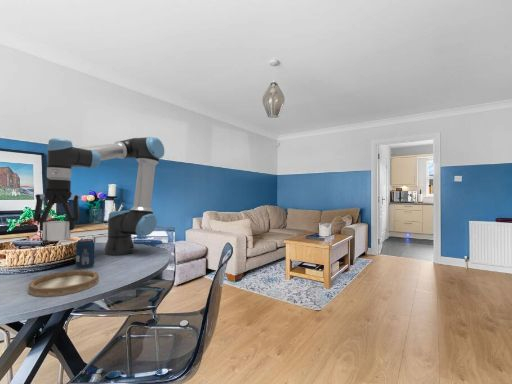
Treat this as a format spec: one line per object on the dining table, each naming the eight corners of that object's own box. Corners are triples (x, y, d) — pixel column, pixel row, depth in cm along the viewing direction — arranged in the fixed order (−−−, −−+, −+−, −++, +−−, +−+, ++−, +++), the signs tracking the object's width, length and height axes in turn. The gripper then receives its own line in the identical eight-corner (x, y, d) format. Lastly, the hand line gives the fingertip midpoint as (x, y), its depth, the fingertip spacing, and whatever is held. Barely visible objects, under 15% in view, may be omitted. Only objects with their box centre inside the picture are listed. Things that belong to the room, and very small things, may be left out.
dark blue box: (87, 263, 122) (88, 238, 122) (97, 265, 119) (98, 239, 119) (72, 267, 116) (72, 240, 116) (82, 269, 113) (82, 242, 113)
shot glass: (55, 241, 97) (55, 222, 97) (40, 240, 98) (41, 221, 98) (72, 238, 103) (72, 221, 104) (58, 237, 105) (58, 220, 105)
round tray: (91, 273, 109) (91, 267, 109) (104, 286, 94) (104, 280, 94) (27, 284, 95) (27, 277, 95) (30, 301, 80) (31, 294, 80)
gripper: (22, 177, 94) (20, 241, 94) (86, 180, 101) (84, 239, 101) (31, 178, 101) (29, 238, 101) (90, 180, 108) (88, 236, 108)
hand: (56, 238), depth 101 cm, fingers closed on shot glass, 7 cm apart
